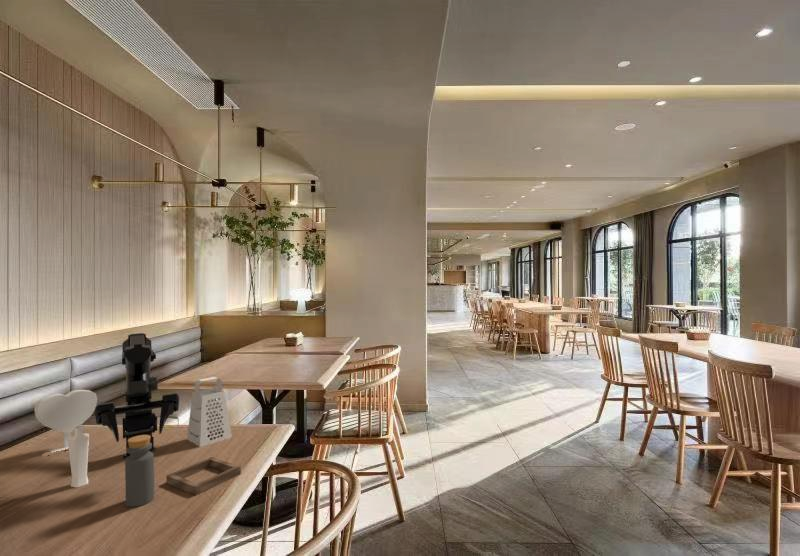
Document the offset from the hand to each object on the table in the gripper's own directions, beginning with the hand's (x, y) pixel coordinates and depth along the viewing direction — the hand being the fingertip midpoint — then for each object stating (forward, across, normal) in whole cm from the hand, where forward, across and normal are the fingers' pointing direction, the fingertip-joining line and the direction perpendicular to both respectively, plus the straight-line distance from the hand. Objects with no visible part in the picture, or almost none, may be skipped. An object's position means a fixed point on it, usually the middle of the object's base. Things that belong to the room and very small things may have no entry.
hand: (139, 436), depth 106 cm
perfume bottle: (0, -13, +18) cm, 23 cm away
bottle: (+14, 0, +4) cm, 15 cm away
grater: (-10, +20, +29) cm, 37 cm away
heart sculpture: (-23, -20, +42) cm, 52 cm away
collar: (+12, +14, +7) cm, 20 cm away
